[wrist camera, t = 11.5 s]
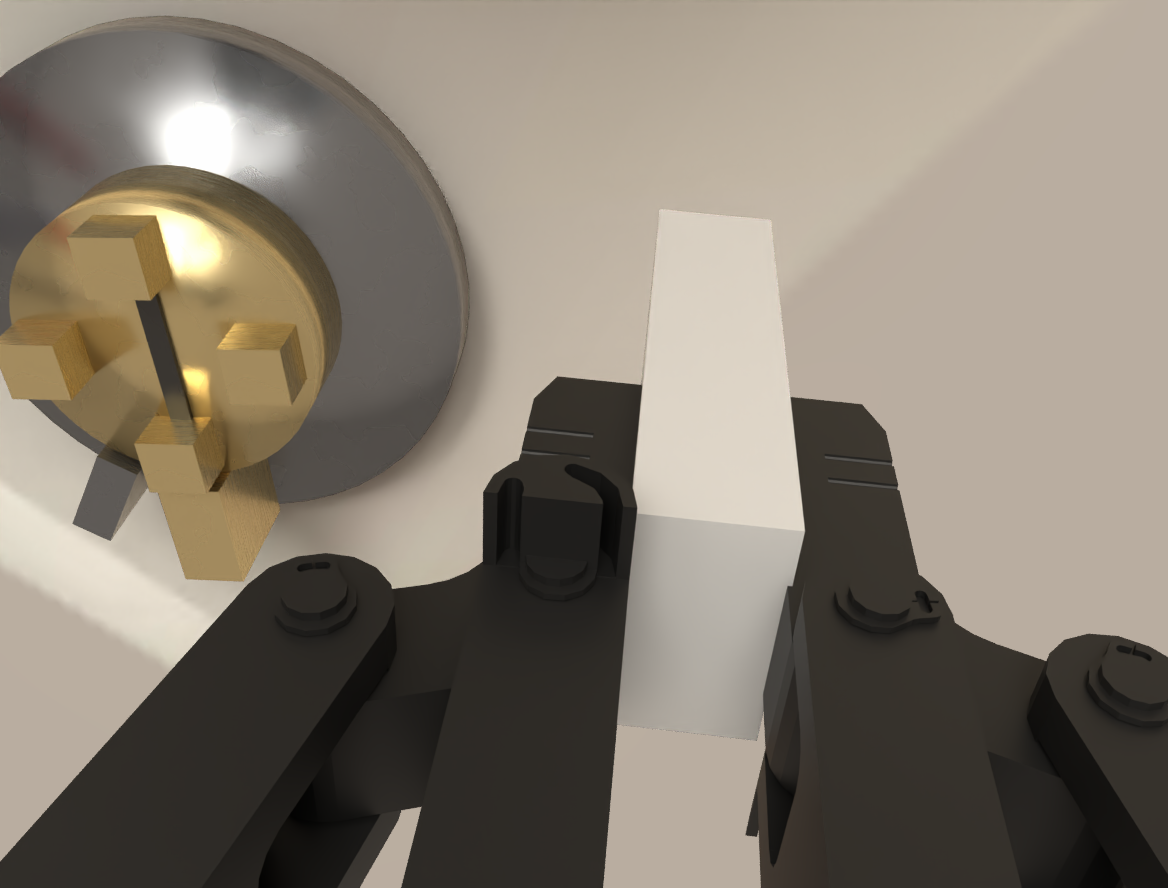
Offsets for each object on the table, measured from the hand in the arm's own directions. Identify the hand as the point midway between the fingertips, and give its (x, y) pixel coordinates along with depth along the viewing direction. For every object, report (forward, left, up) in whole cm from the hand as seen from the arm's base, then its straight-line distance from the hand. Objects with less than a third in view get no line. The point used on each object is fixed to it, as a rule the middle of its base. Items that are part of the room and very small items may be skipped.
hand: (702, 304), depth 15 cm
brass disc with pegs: (-9, -22, -22) cm, 32 cm away
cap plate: (-10, -20, -24) cm, 33 cm away
